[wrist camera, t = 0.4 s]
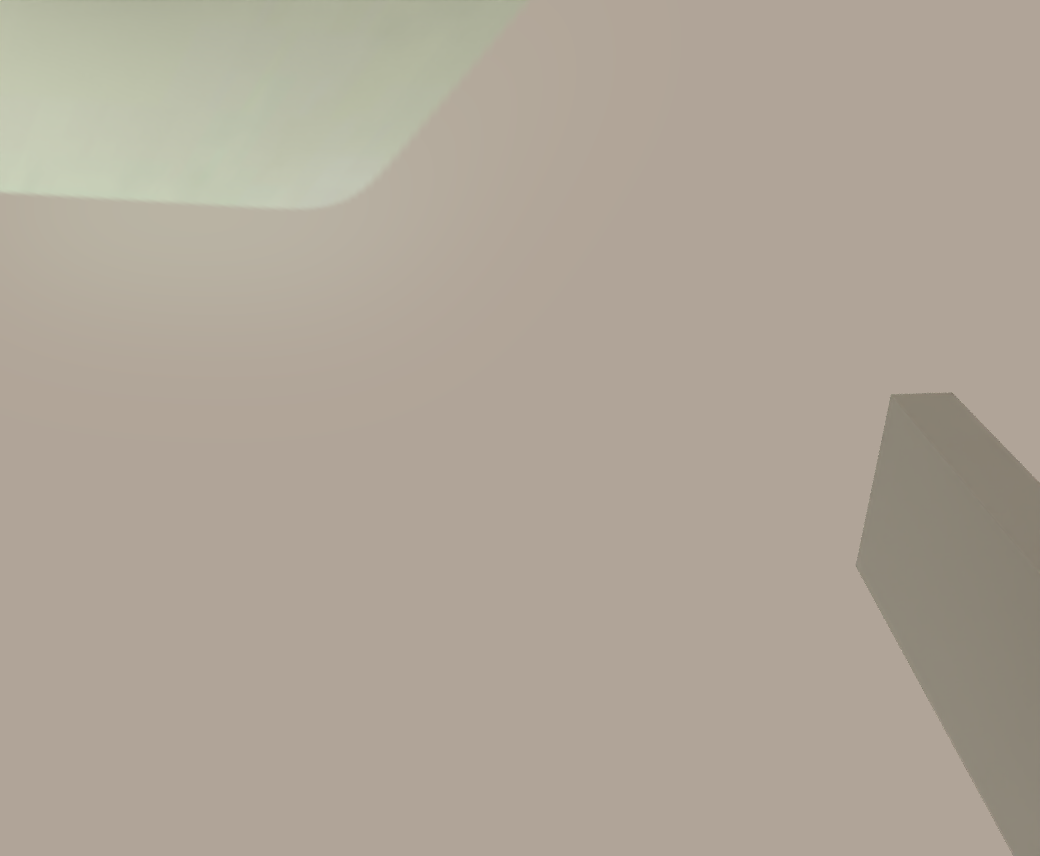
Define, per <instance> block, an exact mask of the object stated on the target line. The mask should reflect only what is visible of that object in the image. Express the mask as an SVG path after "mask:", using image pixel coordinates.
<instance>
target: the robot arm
mask: <svg viewBox="0 0 1040 856" xmlns="http://www.w3.org/2000/svg"><path fill="white" fill-rule="evenodd" d="M856 567H857V569H858V571H859V573H860V575H861V576H862V578H863V580H864V582H865V584H866V586H867V588H868V589H869V591H870V593H871V595H872V597H873V598H874V600H875V602H876V604H877V606H878V608H879V610H880V611H881V613H882V615H883V617H884V619H885V621H886V622H887V624H888V626H889V628H890V630H891V632H892V634H893V635H894V637H895V639H896V641H897V643H898V645H899V646H900V648H901V650H902V652H903V654H904V655H905V657H906V659H907V661H908V663H909V665H910V667H911V668H912V670H913V672H914V674H915V676H916V678H917V679H918V681H919V683H920V685H921V687H922V689H923V691H924V692H925V694H926V696H927V698H928V699H929V701H930V703H931V705H932V707H933V709H934V711H935V713H936V714H937V716H938V718H939V720H940V722H941V724H942V726H943V727H944V729H945V731H946V733H947V735H948V737H949V738H950V740H951V742H952V744H953V746H954V748H955V749H956V751H957V753H958V755H959V757H960V758H961V761H962V762H963V764H964V766H965V768H966V770H967V772H968V773H969V775H970V777H971V779H972V781H973V783H974V784H975V786H976V788H977V790H978V792H979V793H980V795H981V797H982V799H983V801H984V803H985V805H986V806H987V808H988V810H989V812H990V814H991V816H992V818H993V819H994V821H995V823H996V825H997V827H998V829H999V830H1000V832H1001V834H1002V836H1003V838H1004V839H1005V841H1006V843H1007V845H1008V847H1009V849H1010V851H1011V852H1012V854H1013V856H1040V483H1039V482H1038V481H1037V480H1036V479H1035V478H1034V477H1033V476H1032V474H1031V473H1029V471H1028V470H1026V468H1025V467H1024V466H1023V465H1022V464H1021V463H1020V462H1019V461H1018V460H1017V459H1016V458H1015V457H1014V456H1013V455H1012V454H1011V453H1010V452H1009V451H1008V450H1007V449H1006V448H1005V447H1004V446H1003V445H1002V444H1001V443H1000V441H998V439H997V438H996V437H995V436H994V435H993V434H992V433H991V432H990V431H989V430H988V429H987V428H986V427H985V426H984V425H983V424H982V423H981V422H980V421H979V420H978V419H977V418H976V417H975V416H974V415H973V414H972V413H971V412H970V410H968V408H967V407H966V406H965V405H964V404H963V403H961V401H960V400H959V399H958V398H957V397H956V396H955V395H954V394H953V393H922V394H896V395H895V394H892V395H891V397H890V402H889V407H888V412H887V416H886V421H885V426H884V431H883V436H882V441H881V446H880V451H879V455H878V460H877V465H876V470H875V475H874V480H873V485H872V489H871V494H870V499H869V504H868V509H867V514H866V519H865V524H864V528H863V533H862V538H861V543H860V548H859V553H858V557H857V562H856Z"/></svg>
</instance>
